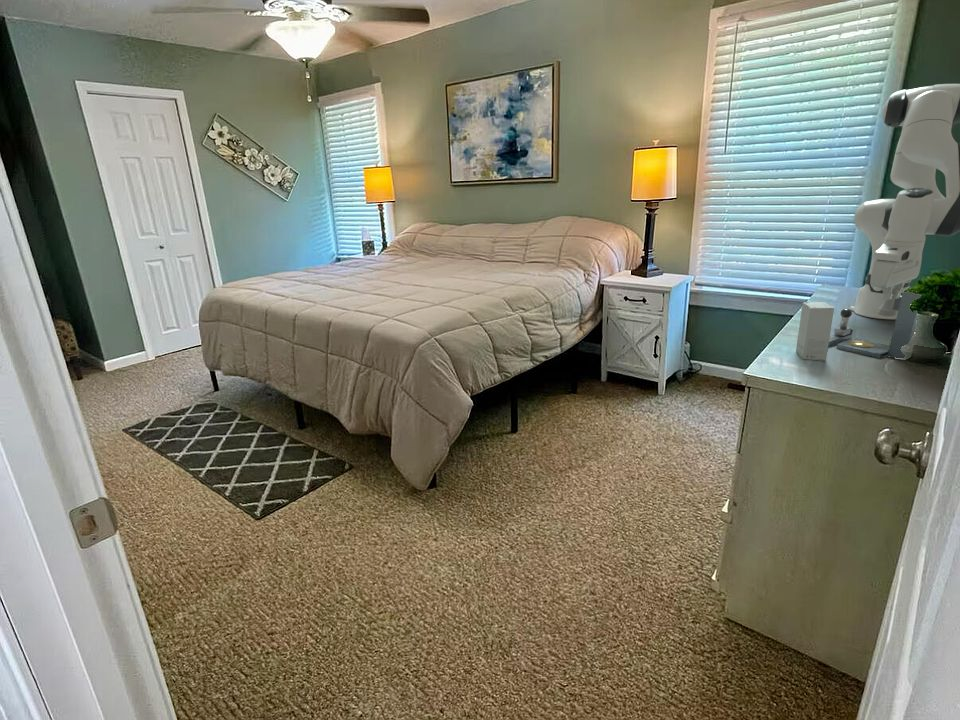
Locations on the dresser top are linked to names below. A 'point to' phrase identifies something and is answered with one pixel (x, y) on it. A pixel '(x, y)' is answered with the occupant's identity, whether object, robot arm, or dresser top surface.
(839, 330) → the lever
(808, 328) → the skincare box
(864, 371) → the dresser top surface
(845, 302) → the dresser top surface
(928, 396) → the dresser top surface
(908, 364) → the dresser top surface
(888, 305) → the rook chess piece
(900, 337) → the press
